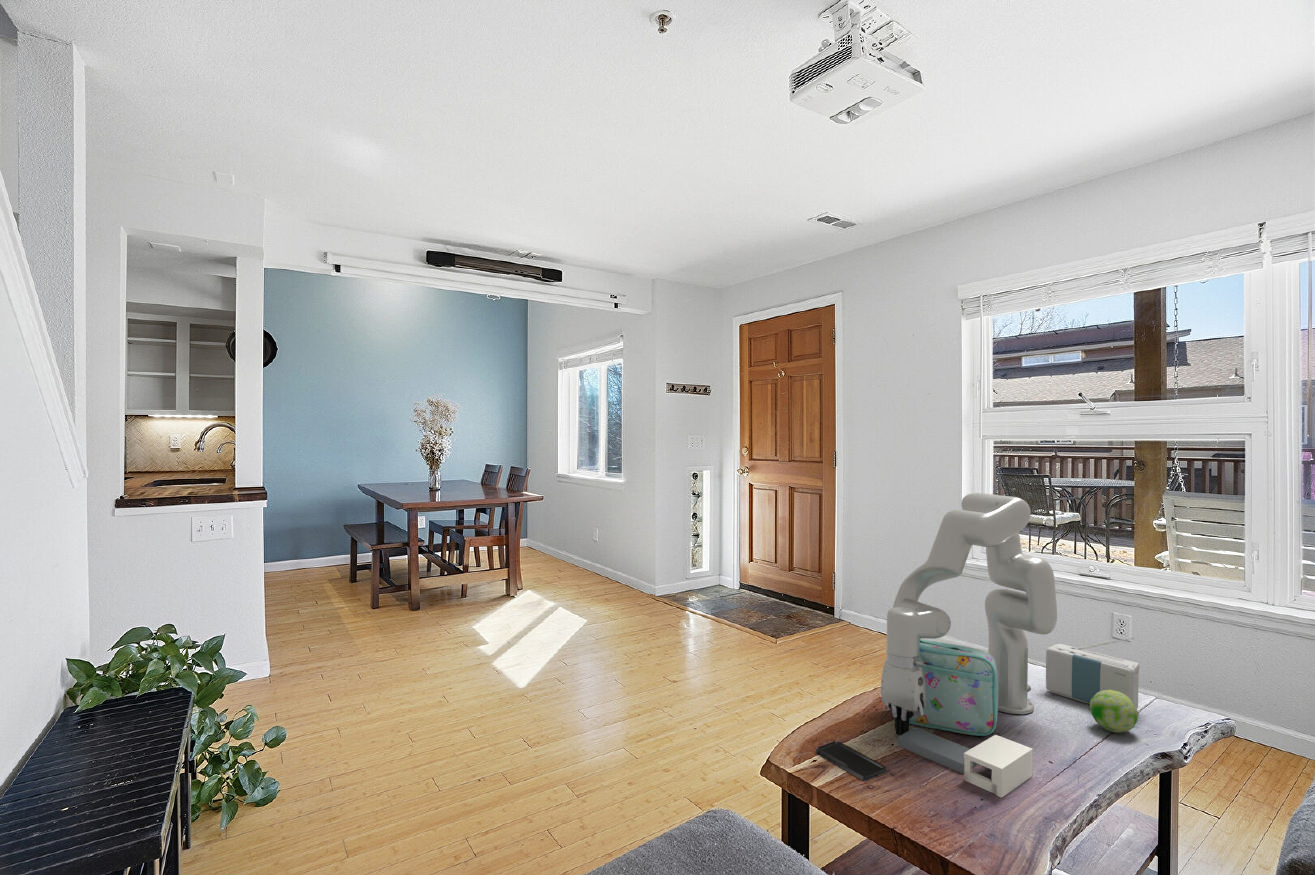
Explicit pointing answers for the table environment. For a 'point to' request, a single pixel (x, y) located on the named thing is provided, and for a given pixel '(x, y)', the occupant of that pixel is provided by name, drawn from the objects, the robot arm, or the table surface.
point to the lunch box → (958, 689)
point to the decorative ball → (1114, 711)
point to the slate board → (934, 748)
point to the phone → (851, 760)
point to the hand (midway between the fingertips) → (901, 733)
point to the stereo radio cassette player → (1089, 673)
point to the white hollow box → (999, 764)
